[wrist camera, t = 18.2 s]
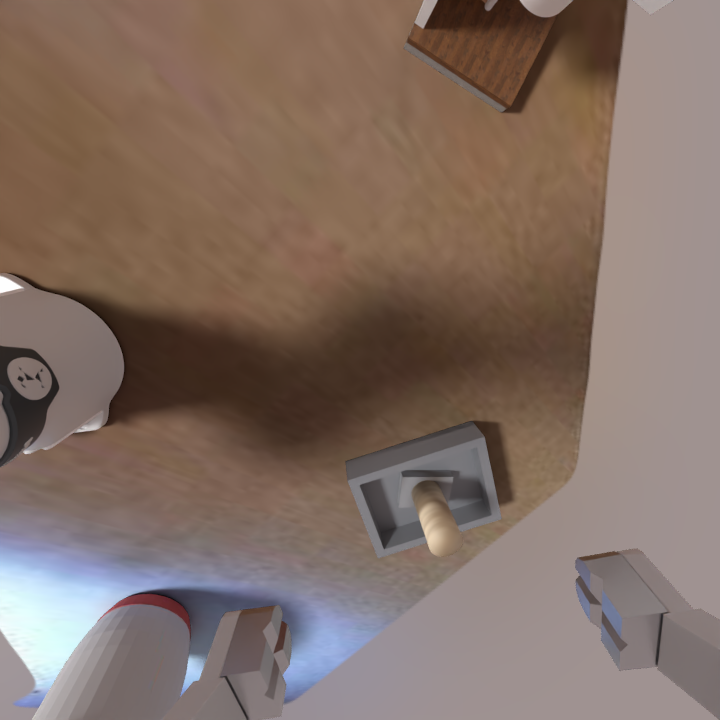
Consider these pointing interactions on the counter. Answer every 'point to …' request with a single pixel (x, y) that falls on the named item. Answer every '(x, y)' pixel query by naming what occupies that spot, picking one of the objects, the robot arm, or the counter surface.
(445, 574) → the counter surface
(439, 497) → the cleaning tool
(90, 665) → the citrus juicer
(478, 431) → the tray
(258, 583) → the counter surface
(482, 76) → the white miniature tower model
